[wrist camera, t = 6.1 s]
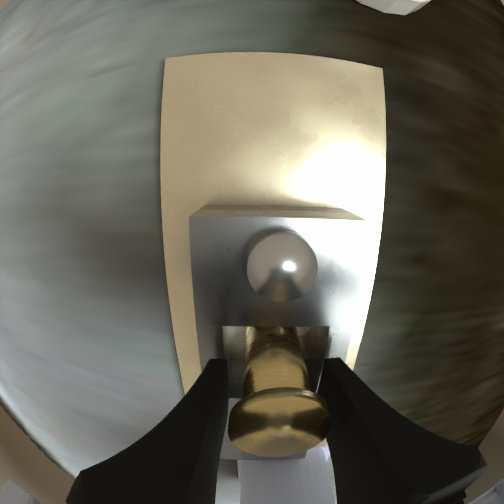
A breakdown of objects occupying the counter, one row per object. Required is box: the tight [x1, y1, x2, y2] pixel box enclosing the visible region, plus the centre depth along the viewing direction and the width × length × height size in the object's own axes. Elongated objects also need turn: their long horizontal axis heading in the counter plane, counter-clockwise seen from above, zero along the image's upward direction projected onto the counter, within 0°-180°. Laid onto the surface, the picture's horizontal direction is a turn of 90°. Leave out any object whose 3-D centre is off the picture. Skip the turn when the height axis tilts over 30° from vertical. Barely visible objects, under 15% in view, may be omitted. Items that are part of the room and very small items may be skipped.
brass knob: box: [228, 327, 332, 457], centre depth 10 cm, size 3×3×7 cm
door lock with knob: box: [160, 52, 386, 460], centre depth 12 cm, size 25×10×5 cm, turn 179°
